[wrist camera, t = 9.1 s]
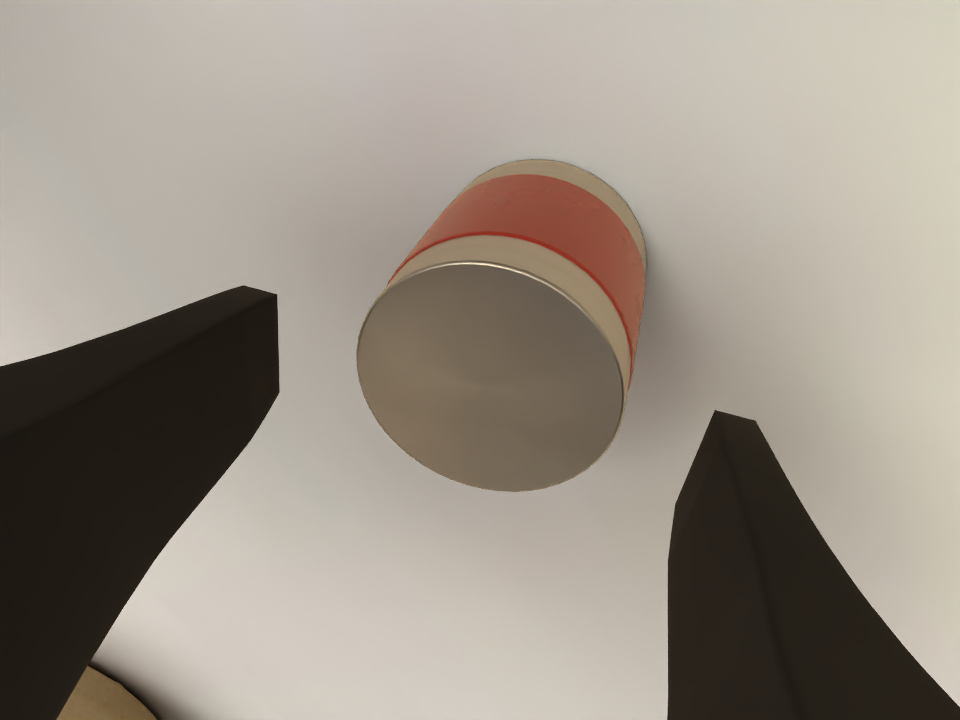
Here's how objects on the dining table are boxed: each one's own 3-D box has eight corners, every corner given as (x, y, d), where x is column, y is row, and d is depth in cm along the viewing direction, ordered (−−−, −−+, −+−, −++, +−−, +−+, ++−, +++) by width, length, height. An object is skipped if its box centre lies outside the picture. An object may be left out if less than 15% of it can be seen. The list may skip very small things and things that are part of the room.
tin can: (429, 323, 18) (348, 453, 14) (452, 134, 15) (358, 227, 11) (617, 373, 17) (590, 524, 13) (676, 185, 15) (663, 302, 11)
